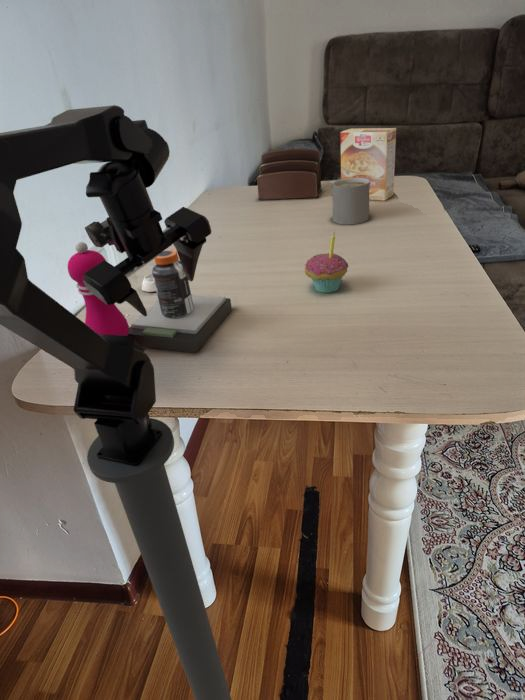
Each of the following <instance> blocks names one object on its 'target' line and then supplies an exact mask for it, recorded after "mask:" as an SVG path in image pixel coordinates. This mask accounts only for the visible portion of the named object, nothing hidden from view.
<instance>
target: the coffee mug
mask: <svg viewBox="0 0 525 700" xmlns="http://www.w3.org/2000/svg"><path fill="white" fill-rule="evenodd" d="M369 190H370V181H369V180H368V179H365V178H345V179H341V178H340V179H337V180H333V181H332V182H331V195H332V196H331V197H332V199H331V200H332V222H334V223H335V224H339V225H358V224H363V223H365V222H367V221H368V220H369V219H370V200H369Z"/></svg>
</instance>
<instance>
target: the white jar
mask: <svg viewBox="0 0 525 700" xmlns="http://www.w3.org/2000/svg"><path fill="white" fill-rule="evenodd" d="M141 290H142V291H143V292H147V293H153V292H156V288H155V283H154V279H153V275H152V273H148V274H146V275H144V276H143V280H142V283H141Z"/></svg>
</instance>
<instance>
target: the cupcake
mask: <svg viewBox="0 0 525 700" xmlns="http://www.w3.org/2000/svg"><path fill="white" fill-rule="evenodd" d="M332 234H333V235H331V239H330V245H329V252H328V253H318V254H315V255H313V256H312V257H310V258H309V259H308V260H307V261H306V263H305V265H304V274H305V276H306V277H308V278H310V280H311V281H312V283H313V286H314V289H315V290H316V292H318V293H321V294H330V293H334V292H336V291H338V290H339V289H340V285H341V283H342V280H343V277H344V276H345V275H346V273H348V268H349V263H348V262H347V261H346V259H345V258H343V257H342V256H341V255H340V254H336V253H334V248H335V240H336V235H335V234H336V231H334V232H333V233H332Z"/></svg>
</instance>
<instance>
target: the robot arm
mask: <svg viewBox="0 0 525 700" xmlns="http://www.w3.org/2000/svg"><path fill="white" fill-rule="evenodd" d="M170 153H171V152H170V147H169V144H168V142H167V140H165V138H164V137H163V136H162V135H161V134H160V133H159V132H157V131H156V130H154V129H153V128H149V127H148V123H147V121H146V119H137V120H132V119H131V118H130V117H129V116H127V115H125V109H123V108H122V106H120V105H116V104H114V105H104V106H94V107H93V106H91V107H84V108H83V107H81V108H73V109H71V108H70V109H67V110H65V111H63V112H61V113H59V114H57V115H55V116H53V117H52V118H51V121H50V122H49V123H47V124H45V125H41V126H40V125H39V126H34V127H28V128H22V129H15V130H10V131H9V130H8V131H3V132H0V326H2V327H4V328H5V329H7V330H9V331H11V332H12V333H14V334H15V335H17V336H18V337H20V338H22V339H24V340H25V341H27V342H28V343H30V344H32V345H34V346H35V347H37V348H39V349H40V350H42V351H44V352H45V353H47V354H48V355H50V356H52V357H54V358H55V359H57V360H58V361H60V362H62V363H64V364H65V365H67V366H68V367H70V368H72V369H73V373H74V375H73V377H74V380H75V381H76V383H77V388H76V393H75V394H76V395H75V399H74V404H73V412H74V413H75V414H76V415H77V417H79V419H81V420H86V419H87V420H88V419H90V420H95V422H94V423H93V424H94V427H95V430H96V433H97V435H98V436H99V438H100V441H101V443H102V446H103V447H102V448H101V450H100V451H99V452H98V453H97V457H98V458H99V459H103V460H107V461H112V462H117V463H122V464H126V465H131V466H139V465H140V464H141V462H142V461H143V460H144V458H145V457H146V456H147V454H148V453H149V452H150V450H151V449H152V448H153V446H154V445H155V444H156V442H157V441H158V440H159V438H160V437H161V436H162V431H160V430H155V429H151V427H152V425H151V421H150V418H151V417H150V414H149V413H150V412H151V410H152V408H153V407H154V406H155V404H156V402H157V398H156V397H157V396H156V379H155V368H154V365H153V363H152V361H151V358H150V356H149V355H148V354H147V353H146V352H145V351H146V350H147V348H146V347H141V346H139V345H138V343H137V342H136V341H135V339H133V338H132V337H130V336H127V335H103V334H98V333H96V332H95V331H94V330H93V329H91V328H90V327H89V326H87V325H86V324H85V321H83V320H81V319H80V318H78V317H77V316H76V315H75V314H74V313H72V312H71V311H70V310H68V309H67V308H66V307H64V306H63V305H62V304H60V302H58V301H57V300H55V299H54V298H53V297H51V295H49V294H48V293H46V292H45V291H44V290H43V289H41V288H40V287H39V286H38V285H36V284H35V283H33V282H32V280H30V278H29V275H28V271H27V270H28V269H27V266H26V259H25V257H24V256H23V254H22V253H21V252H20V251H19V250H18V249H17V247H18V242H19V238H20V235H21V230H22V227H23V225H22V224H23V222H22V218H21V214H20V211H19V207H18V204H17V201H16V197H15V193H14V192H15V189H16V185H17V181H18V180H19V181H20V180H23V179H26V178H29V177H32V176H36V175H39V174H42V173H43V174H44V173H46V172H49V171H53V170H57V169H59V168H63V167H67V166H70V165H72V164H75V165H76V164H77V165H83V164H85V165H86V164H98V163H104V164H102V165H101V166H100V167H99V168H98V170H97V171H92V172H89V180H88V183H87V185H86V186H85V188H86V189H85V195H86V197H87V198H99V199H100V201H101V203H102V205H103V207H104V210H105V212H106V214H107V216H108V217H106V218H105V220H103V221H101V222H100V221H93V222H91V223H89V224H88V225H86V226H85V227H84V230H85V232H86V234H87V237H88V238H89V239H90V242H92V244H93V246H95V247H96V248H103V247H105V246H106V245H108V246H110V247H111V246H114V247H115V249H116V251H117V252H119V253H120V254H123V253H125V254H126V256H127V257H126V258H124V259H123V260H122V261H120V262H118V263H117V264H116V265H112V264H111V263H110V262H108V261H107V260H106V259H105V260H106V261H105V260H104V261H102V262H101V263H99V264H98V265H96V266H95V267H93V268H92V269H90V270H89V271H87V272H86V273H84V276H83V283H84V284H85V286H86V288H87V289H88V291H90V292H91V293H92V294H94V295H95V296H96V297H98V298H99V299H100V300H102V301H103V302H104V303H106V304H107V305H112V304H115V305H116V304H118V305H121V304H123V303H125V302H126V303H128V304H129V305H130V306H131V307H132V308H134V309H135V310H136V311H137V312H138V313H139V314H140V315H143V316H145V317H146V316H147V312H146V310H147V309H146V307H145V306H144V304H143V301H142V299H141V298H140V295H139V294H138V292H137V290H136V289H135V288H133V287H132V284H131V282H130V279H129V277H131V276H132V275H134V274H135V273H136V272H139V270H141V269H142V268H144V267H145V266H146V265H147V264H149V263H151V262H152V261H153V260H155V258H156V257H157V256H159V255H160V254H161V252H163V251H164V250H168V249H169V248H170V247H171V246H172V245H173V246H174V247H175V251H177V255H178V260H179V261H180V262H181V265H182V268H183V271H184V273H185V275H186V277H187V279H188V282H191V283H192V282H193V281H194V278H195V275H196V270H197V265H198V262H199V257H200V256H201V252H202V248H203V246H204V244H205V243H207V237H209V236H210V235H211V234H212V227H211V224H210V221H209V219H208V218H207V217H206V215H204V214H201V213H199V212H197V211H194V210H192V209H190V208H188V207H186V206H182V207H180V208H179V209H177V210H176V211H174V212H172V214H170V215H168V216H167V217H166V218H165V219H164V222H163V223H164V226H165V228H166V229H165V230H164V231H163V229H162V226H161V224H160V222H161V221H162V220H163V216H162V214H161V212H160V211H157V210H156V209H155V207H154V205H153V202H152V200H151V198H150V195H149V192H148V189H147V188H150V187H151V186H153V184H154V183H155V182H156V180H157V179H158V177H159V175H160V173H161V172H162V171H163V168H164V167H165V165H166V164H167V162H168V161H169V158H170Z"/></svg>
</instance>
